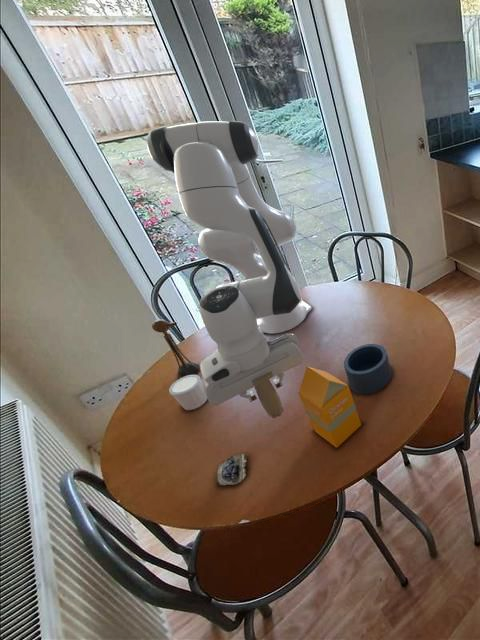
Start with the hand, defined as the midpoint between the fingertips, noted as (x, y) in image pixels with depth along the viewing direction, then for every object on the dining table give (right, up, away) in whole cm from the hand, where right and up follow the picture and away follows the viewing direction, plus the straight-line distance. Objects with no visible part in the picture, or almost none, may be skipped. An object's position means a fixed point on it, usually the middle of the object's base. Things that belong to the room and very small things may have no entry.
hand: (266, 392), depth 98 cm
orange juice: (+16, -11, +4) cm, 20 cm away
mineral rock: (-4, -17, -5) cm, 18 cm away
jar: (+19, -2, +18) cm, 27 cm away
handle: (0, -7, +4) cm, 8 cm away
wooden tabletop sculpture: (-36, -1, +22) cm, 42 cm away
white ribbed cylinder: (-27, -7, +12) cm, 30 cm away
